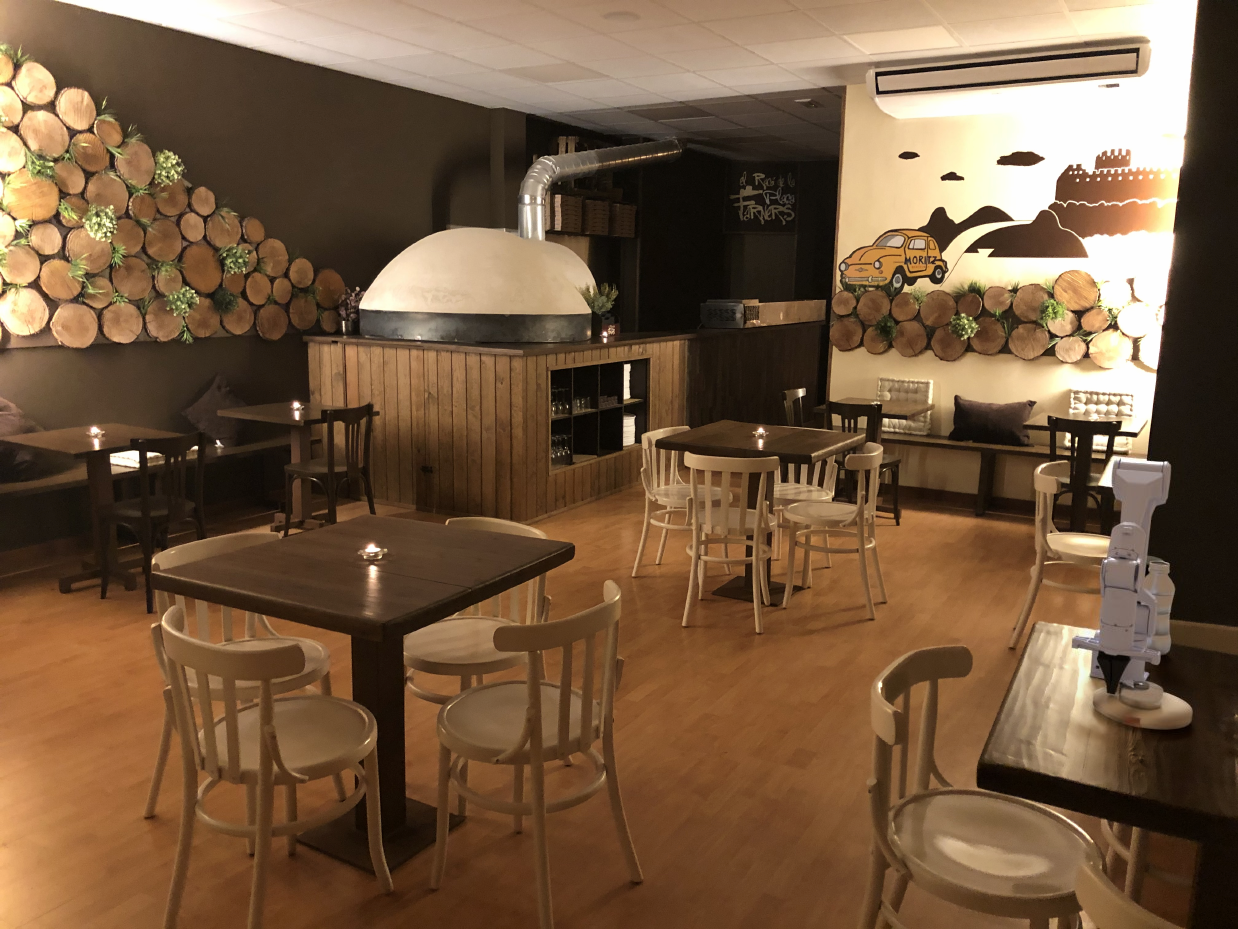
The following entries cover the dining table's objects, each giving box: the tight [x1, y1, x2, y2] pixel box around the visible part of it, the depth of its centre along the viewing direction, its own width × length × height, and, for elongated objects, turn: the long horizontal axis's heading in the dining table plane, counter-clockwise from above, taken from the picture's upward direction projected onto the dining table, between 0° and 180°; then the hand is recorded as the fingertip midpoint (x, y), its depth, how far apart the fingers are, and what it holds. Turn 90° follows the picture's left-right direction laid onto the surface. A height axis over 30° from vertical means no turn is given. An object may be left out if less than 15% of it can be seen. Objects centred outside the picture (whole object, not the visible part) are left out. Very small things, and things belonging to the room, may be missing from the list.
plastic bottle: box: [1141, 561, 1176, 656], centre depth 207 cm, size 6×7×20 cm
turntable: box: [1092, 684, 1194, 730], centre depth 177 cm, size 16×16×2 cm
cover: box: [1119, 679, 1164, 710], centre depth 177 cm, size 7×7×4 cm
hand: (1111, 692), depth 180 cm, fingers closed
